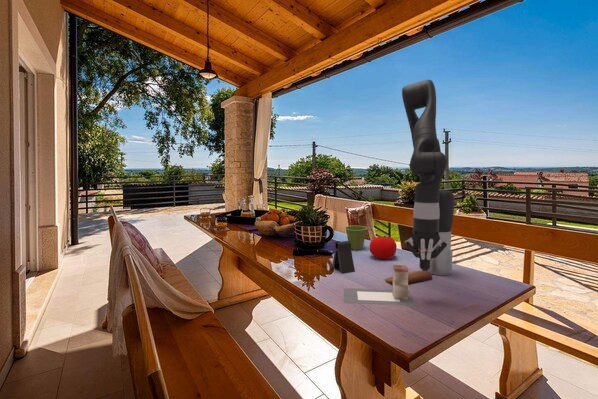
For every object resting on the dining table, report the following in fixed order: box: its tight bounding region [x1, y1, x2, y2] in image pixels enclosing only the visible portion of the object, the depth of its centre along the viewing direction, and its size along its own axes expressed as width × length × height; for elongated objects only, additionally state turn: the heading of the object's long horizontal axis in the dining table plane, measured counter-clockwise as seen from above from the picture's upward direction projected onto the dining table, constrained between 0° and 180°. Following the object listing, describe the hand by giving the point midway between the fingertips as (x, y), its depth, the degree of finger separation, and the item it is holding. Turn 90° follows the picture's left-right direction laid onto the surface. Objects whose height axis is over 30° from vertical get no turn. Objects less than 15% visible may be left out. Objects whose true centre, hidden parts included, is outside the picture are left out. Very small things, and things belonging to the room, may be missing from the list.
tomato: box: [368, 235, 398, 260], centre depth 149 cm, size 13×12×11 cm
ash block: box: [392, 264, 409, 300], centre depth 102 cm, size 4×4×10 cm
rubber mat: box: [343, 287, 418, 307], centre depth 103 cm, size 22×12×1 cm, turn 82°
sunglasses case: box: [384, 270, 433, 287], centre depth 117 cm, size 18×7×7 cm
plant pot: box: [344, 225, 368, 251], centre depth 166 cm, size 12×12×11 cm
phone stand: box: [331, 240, 356, 274], centre depth 133 cm, size 9×6×12 cm, turn 21°
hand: (424, 270), depth 100 cm, fingers closed
